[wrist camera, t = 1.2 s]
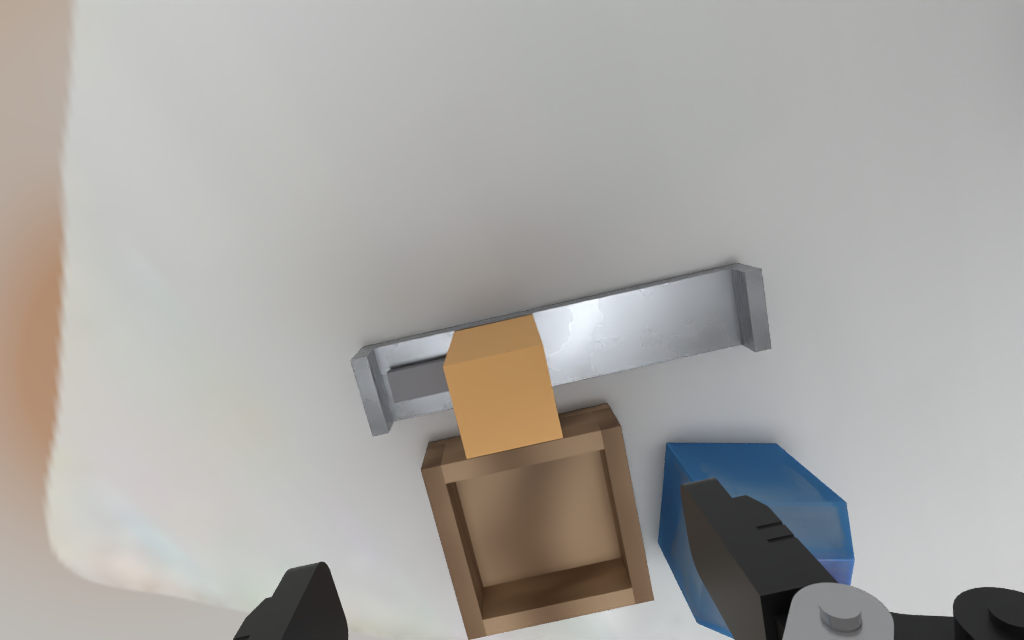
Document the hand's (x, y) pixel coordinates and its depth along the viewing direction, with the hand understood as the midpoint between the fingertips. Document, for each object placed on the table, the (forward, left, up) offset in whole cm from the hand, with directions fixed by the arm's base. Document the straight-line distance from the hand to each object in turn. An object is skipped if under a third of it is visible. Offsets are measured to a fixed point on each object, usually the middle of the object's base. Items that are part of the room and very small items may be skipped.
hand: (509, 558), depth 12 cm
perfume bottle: (-10, +11, -17) cm, 23 cm away
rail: (-3, 0, -17) cm, 17 cm away
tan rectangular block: (+2, 0, -16) cm, 16 cm away
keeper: (0, +9, -17) cm, 19 cm away
